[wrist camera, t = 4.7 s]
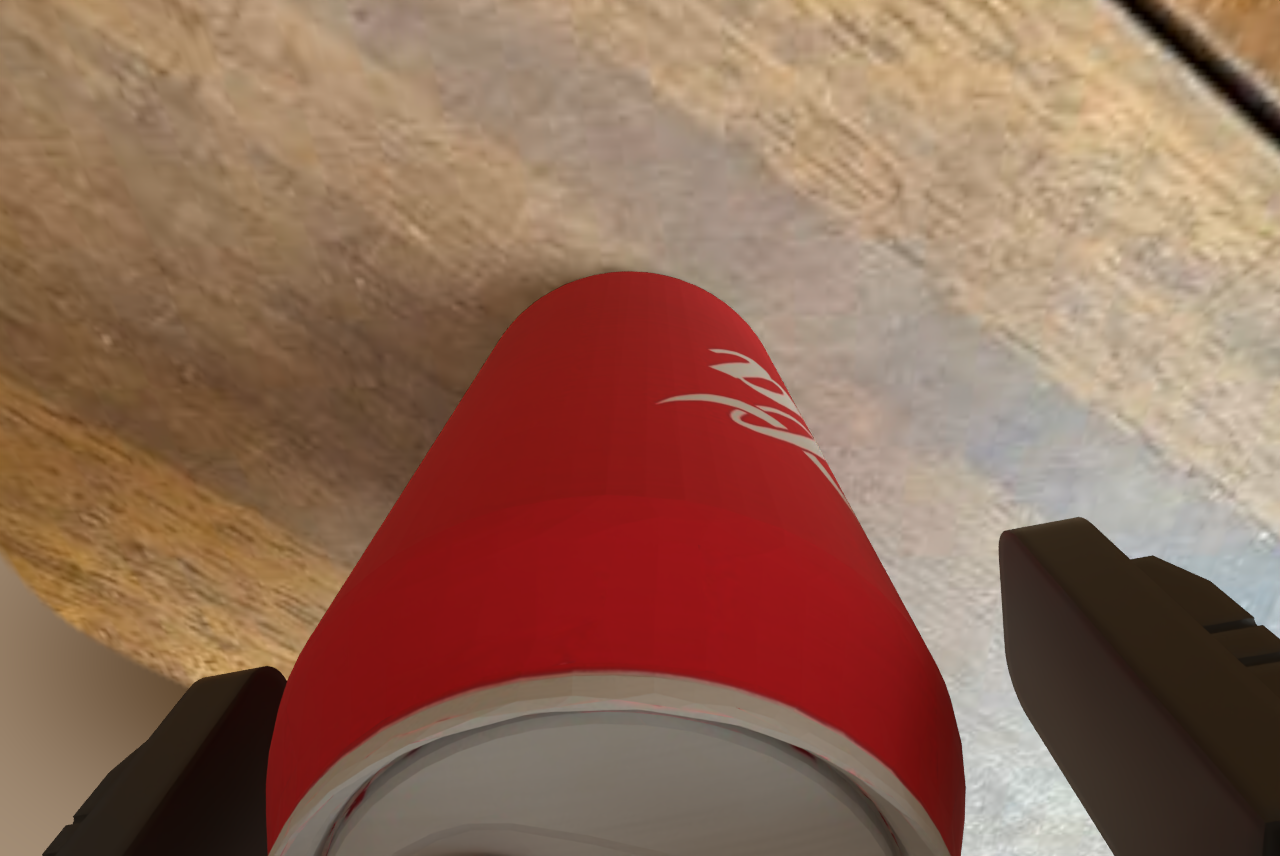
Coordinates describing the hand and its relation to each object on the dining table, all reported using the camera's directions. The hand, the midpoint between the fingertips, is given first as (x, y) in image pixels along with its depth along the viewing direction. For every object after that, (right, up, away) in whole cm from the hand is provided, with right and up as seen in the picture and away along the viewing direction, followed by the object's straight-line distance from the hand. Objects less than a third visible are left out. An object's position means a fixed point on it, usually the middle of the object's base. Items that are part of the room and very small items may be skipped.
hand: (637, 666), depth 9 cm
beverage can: (0, +3, +8) cm, 9 cm away
